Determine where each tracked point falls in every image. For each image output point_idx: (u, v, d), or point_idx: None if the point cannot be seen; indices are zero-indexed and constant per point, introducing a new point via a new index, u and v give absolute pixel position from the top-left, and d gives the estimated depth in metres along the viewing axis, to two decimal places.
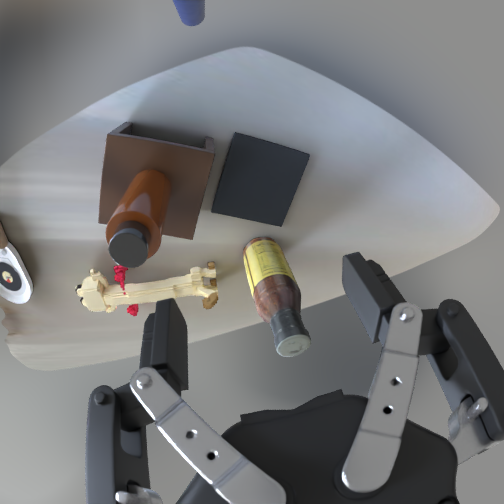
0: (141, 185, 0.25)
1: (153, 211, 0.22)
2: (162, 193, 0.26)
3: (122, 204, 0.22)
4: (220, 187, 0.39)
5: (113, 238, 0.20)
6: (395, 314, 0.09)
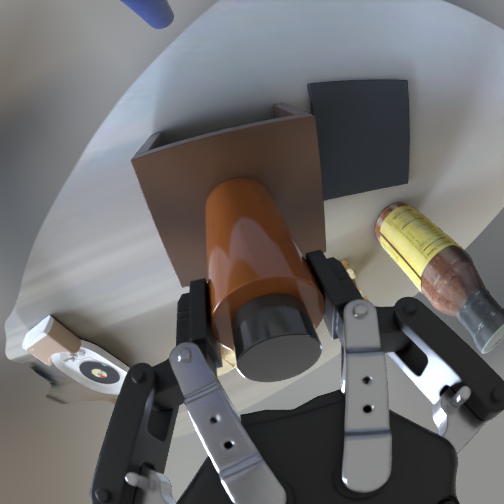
0: (232, 215, 0.14)
1: (288, 258, 0.11)
2: (273, 212, 0.15)
3: (220, 269, 0.12)
4: (322, 163, 0.26)
5: (242, 355, 0.09)
6: (347, 310, 0.10)
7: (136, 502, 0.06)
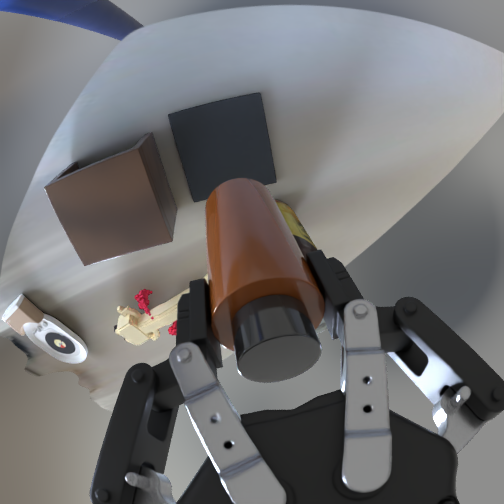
0: (232, 215, 0.14)
1: (288, 259, 0.11)
2: (273, 212, 0.15)
3: (220, 270, 0.12)
4: (187, 174, 0.34)
5: (242, 356, 0.09)
6: (348, 310, 0.10)
7: (136, 502, 0.06)
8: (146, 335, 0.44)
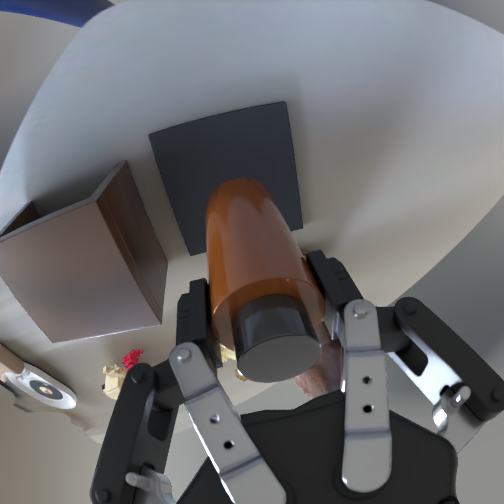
0: (232, 215, 0.14)
1: (288, 259, 0.11)
2: (273, 212, 0.15)
3: (220, 270, 0.12)
4: (180, 219, 0.25)
5: (242, 356, 0.09)
6: (348, 310, 0.10)
7: (136, 502, 0.06)
8: None
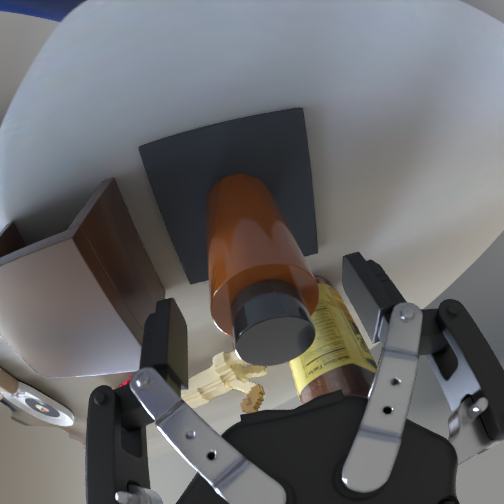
0: (232, 208, 0.15)
1: (284, 247, 0.12)
2: (270, 205, 0.16)
3: (219, 258, 0.13)
4: (177, 244, 0.21)
5: (240, 337, 0.10)
6: (395, 314, 0.09)
7: None
8: None
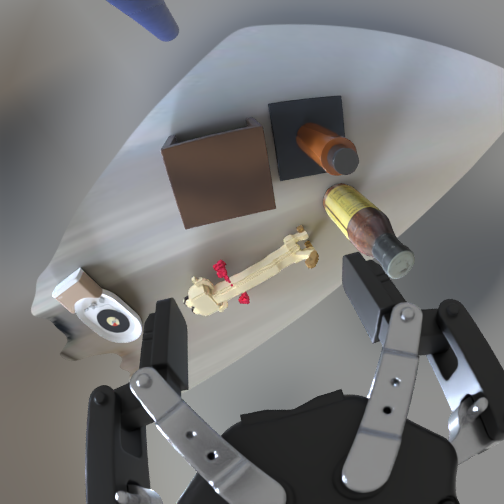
0: (318, 129, 0.34)
1: (343, 137, 0.31)
2: None
3: (321, 139, 0.32)
4: (279, 155, 0.41)
5: (336, 155, 0.29)
6: (395, 314, 0.09)
7: None
8: (218, 305, 0.50)
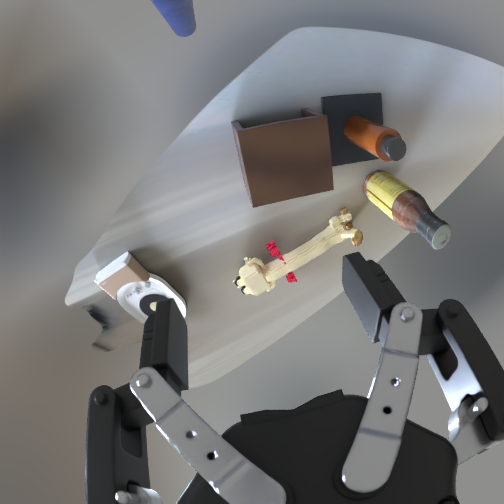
0: (367, 122, 0.37)
1: None
2: None
3: (374, 130, 0.35)
4: None
5: (389, 144, 0.32)
6: (395, 314, 0.09)
7: None
8: (268, 284, 0.53)
